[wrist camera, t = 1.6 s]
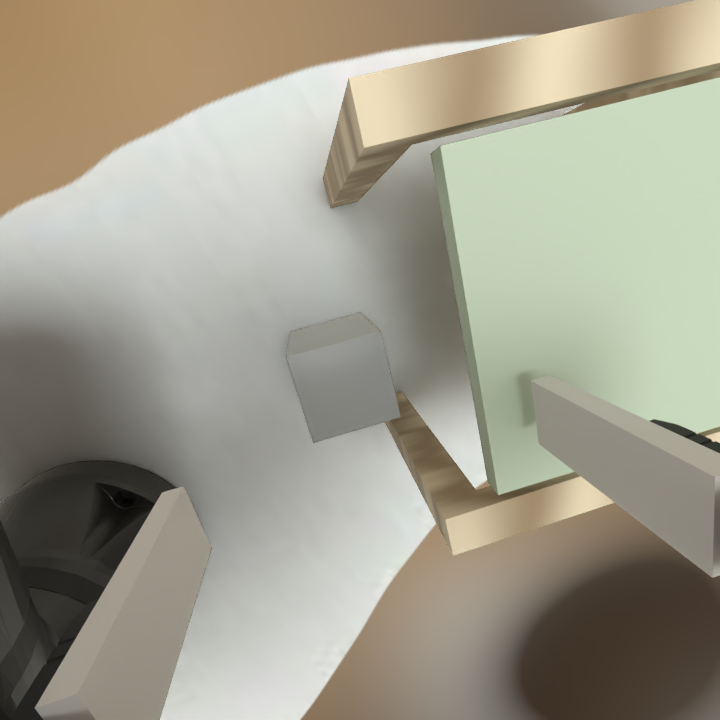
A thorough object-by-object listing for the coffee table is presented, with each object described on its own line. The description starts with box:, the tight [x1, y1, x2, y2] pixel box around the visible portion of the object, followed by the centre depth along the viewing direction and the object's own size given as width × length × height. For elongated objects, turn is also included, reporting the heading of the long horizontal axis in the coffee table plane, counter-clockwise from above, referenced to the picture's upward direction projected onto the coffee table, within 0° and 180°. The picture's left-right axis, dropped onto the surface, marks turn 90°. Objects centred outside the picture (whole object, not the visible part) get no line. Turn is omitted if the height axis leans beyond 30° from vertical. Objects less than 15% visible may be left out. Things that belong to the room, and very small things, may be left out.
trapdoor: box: [431, 77, 720, 495], centre depth 17 cm, size 14×14×4 cm
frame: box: [323, 0, 720, 555], centre depth 22 cm, size 19×19×16 cm
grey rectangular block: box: [286, 313, 401, 443], centre depth 26 cm, size 6×6×8 cm
